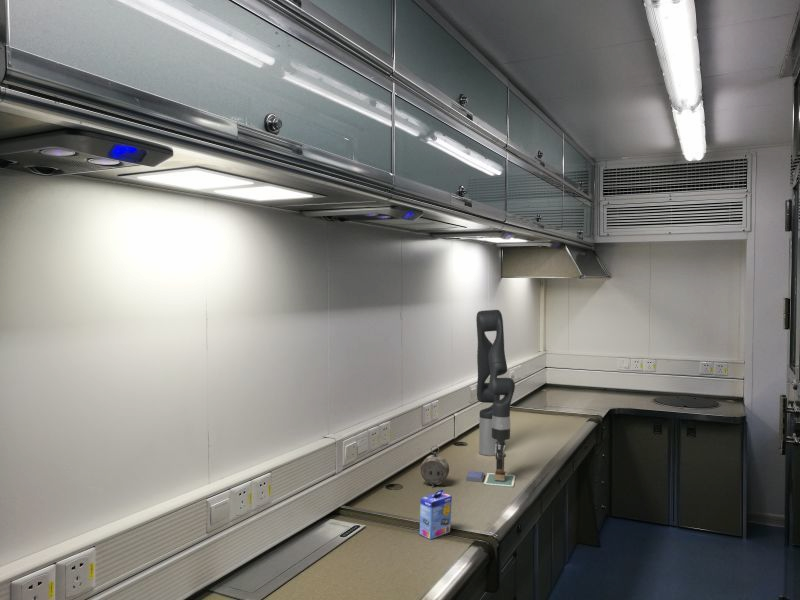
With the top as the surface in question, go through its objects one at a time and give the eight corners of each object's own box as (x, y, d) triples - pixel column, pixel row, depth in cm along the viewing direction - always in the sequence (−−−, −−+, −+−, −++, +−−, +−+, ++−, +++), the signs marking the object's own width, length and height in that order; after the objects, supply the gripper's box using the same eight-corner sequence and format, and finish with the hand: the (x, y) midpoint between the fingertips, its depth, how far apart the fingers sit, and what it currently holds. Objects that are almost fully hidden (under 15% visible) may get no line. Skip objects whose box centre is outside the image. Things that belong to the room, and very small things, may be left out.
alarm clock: (449, 485, 252) (449, 444, 251) (446, 489, 246) (447, 448, 246) (422, 482, 255) (422, 442, 254) (419, 486, 249) (419, 446, 249)
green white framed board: (487, 473, 267) (487, 472, 267) (515, 476, 264) (515, 475, 264) (483, 484, 253) (483, 483, 253) (513, 487, 250) (513, 486, 250)
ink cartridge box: (431, 540, 198) (431, 494, 198) (418, 535, 202) (419, 490, 202) (451, 532, 205) (452, 487, 205) (439, 527, 209) (439, 483, 209)
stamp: (495, 476, 262) (495, 452, 262) (506, 477, 261) (506, 452, 261) (493, 481, 256) (494, 455, 256) (504, 482, 255) (505, 456, 255)
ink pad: (468, 474, 266) (468, 470, 266) (484, 475, 264) (484, 471, 264) (466, 480, 258) (466, 476, 258) (482, 482, 256) (482, 477, 256)
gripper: (493, 422, 266) (492, 460, 266) (489, 429, 252) (489, 470, 253) (511, 423, 264) (510, 461, 265) (509, 431, 250) (508, 471, 251)
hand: (500, 466), depth 259 cm, fingers open, 8 cm apart
